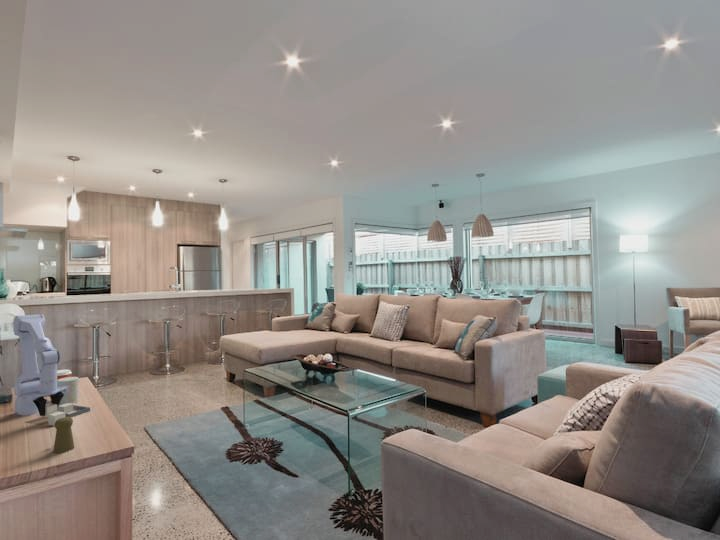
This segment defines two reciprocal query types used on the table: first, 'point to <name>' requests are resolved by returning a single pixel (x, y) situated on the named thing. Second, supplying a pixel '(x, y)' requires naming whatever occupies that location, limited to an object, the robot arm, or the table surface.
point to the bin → (82, 410)
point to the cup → (69, 389)
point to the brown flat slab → (40, 421)
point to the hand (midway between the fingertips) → (48, 413)
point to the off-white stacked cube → (50, 409)
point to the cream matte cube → (65, 408)
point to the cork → (63, 435)
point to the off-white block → (55, 417)
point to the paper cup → (63, 374)
